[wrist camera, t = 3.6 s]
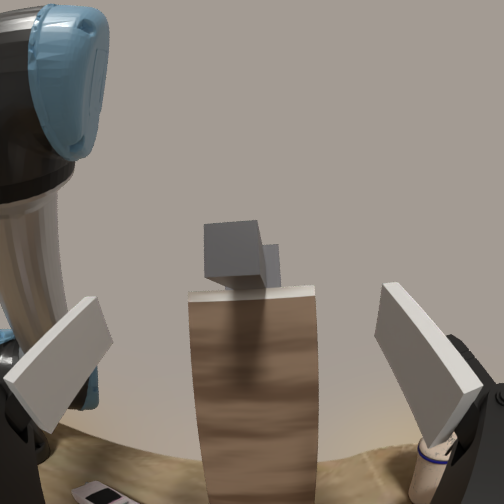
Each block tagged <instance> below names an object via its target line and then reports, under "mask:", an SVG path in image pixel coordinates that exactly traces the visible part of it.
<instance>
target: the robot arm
mask: <svg viewBox="0 0 504 504" xmlns="http://www.w3.org/2000/svg"><path fill="white" fill-rule="evenodd" d="M108 53H109V26H108V22H107V19H106V17H105V16H104V14H103V13H102V12H100V11H99V10H98V9H95V8H92V7H84V6H68V5H55V4H48V5H45V6H37V7H30V8H24V9H18V10H13V11H8V12H3V13H0V303H1V306H2V309H3V311H4V313H5V316H6V318H7V320H8V323H9V325H10V327H11V329H0V504H45V500H44V496H43V492H42V487H41V483H40V478H39V472H38V466H37V464H39V463H41V462H43V461H44V460H45V459H46V458H47V457H48V456H49V454H50V448H49V445H48V442H47V439H46V437H45V435H44V433H43V432H42V430H44V431H46V432H48V433H50V434H52V432H53V431H54V429H55V427H56V426H57V424H58V423H59V421H60V419H61V418H62V416H63V415H64V413H65V412H66V410H67V409H77V410H80V411H83V410H92V409H95V408H96V407H97V406H98V404H99V391H98V371H97V365H98V363H99V362H100V360H101V359H102V358H103V356H104V355H105V353H106V352H107V351H108V349H109V348H110V346H111V345H112V344H113V340H112V338H111V335H110V332H109V330H108V327H107V324H106V322H105V319H104V316H103V313H102V310H101V307H100V305H99V301H98V298H97V297H88V296H86V297H85V298H84V299H82V300H81V301H80V302H79V303H78V304H77V305H76V306H75V307H74V308H72V309H71V310H70V311H69V312H68V310H67V305H66V299H65V293H64V287H63V280H62V272H61V263H60V254H59V240H58V221H57V220H58V219H57V191H58V190H59V189H60V188H61V187H62V186H64V185H65V184H66V183H67V182H68V181H69V180H70V178H71V177H72V176H73V173H74V168H75V161H77V160H79V159H81V158H85V157H86V156H88V155H89V154H90V152H91V150H92V148H93V146H94V142H95V139H96V134H97V130H98V122H99V114H100V112H101V107H102V101H103V94H104V87H105V80H106V71H107V63H108ZM374 336H375V338H376V340H377V342H378V343H379V345H380V347H381V349H382V351H383V353H384V355H385V357H386V359H387V361H388V363H389V365H390V367H391V369H392V371H393V373H394V375H395V377H396V379H397V381H398V383H399V385H400V387H401V389H402V391H403V393H404V396H405V398H406V400H407V402H408V404H409V406H410V408H411V411H412V413H413V415H414V417H415V420H416V421H417V424H418V427H419V429H420V431H421V434H422V436H423V438H424V441H425V443H426V446H427V448H428V449H429V448H432V447H434V446H437V445H439V444H442V443H444V442H447V440H448V439H449V438H450V436H451V435H452V434H453V432H455V434H456V436H457V439H456V440H455V442H454V443H453V444H452V445H451V447H450V448H449V449H448V450H447V452H446V453H445V456H447V455H448V454H449V453H450V452H451V454H450V457H449V459H448V462H447V465H446V468H445V470H444V473H443V475H442V478H441V480H440V482H439V485H438V487H437V489H436V491H435V494H434V496H433V498H432V500H431V502H430V504H504V383H499V384H496V383H495V382H494V381H493V379H492V378H491V377H490V376H489V374H488V373H487V372H486V370H485V369H484V368H483V366H482V365H481V364H480V363H479V361H478V360H477V359H476V358H475V357H474V355H473V354H472V353H471V351H469V349H468V348H467V347H466V345H465V344H464V343H463V342H462V341H461V340H459V339H458V338H456V337H455V336H453V335H452V334H450V335H447V336H445V335H444V334H443V332H442V331H441V330H440V329H439V328H438V326H437V325H436V324H435V323H434V322H433V321H432V319H430V317H429V316H428V315H427V314H426V313H425V311H424V310H423V309H422V308H421V307H420V306H419V305H418V304H417V302H416V301H415V300H414V299H413V298H412V297H411V296H410V295H409V294H408V293H407V292H406V291H405V289H403V287H402V286H401V285H400V284H399V283H398V282H393V283H384V284H382V290H381V298H380V305H379V311H378V318H377V324H376V330H375V335H374ZM41 429H42V430H41Z"/></svg>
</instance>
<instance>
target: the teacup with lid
mask: <svg viewBox="0 0 504 504" xmlns="http://www.w3.org/2000/svg"><path fill="white" fill-rule="evenodd" d="M456 439H457V436H456V434H455V432H453V434H452V435H451V436H450V438H449V439H448V440H447V442H444V443H442V444H439V445H437V446H434V447H432V448H429V449H428V448H427V446H426V443H425V441H424V438H421V439H420V441H419V443H418V448H417V453H418V457H417V462H416V466H415V470H414V474H413V478H412V481H411V485H410V488H409V498H410V500H411V501H412V502H413V503H414V504H430V502H431V500H432V498H433V496H434V494H435V491H436V489H437V487H438V485H439V482H440V480H441V478H442V475H443V473H444V470H445V468H446V465H447V462H448V459H449V457H450V454H451V452H450V453H449V454H448V455H447V456H445V453H446V452H447V450H448V449H449V448H450V447H451V445H452V444H453V443H454V442H455V440H456Z"/></svg>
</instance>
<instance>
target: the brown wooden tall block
mask: <svg viewBox="0 0 504 504" xmlns="http://www.w3.org/2000/svg"><path fill="white" fill-rule="evenodd" d="M188 307H189V308H188V309H189V331H190V349H191V364H192V377H193V388H194V399H195V408H196V417H197V426H198V434H199V441H200V449H201V456H202V462H203V469H204V475H205V481H206V486H207V492H208V497H209V503H210V504H314V501H315V488H316V473H317V453H318V415H319V414H318V411H319V403H318V402H319V396H318V395H319V393H318V392H319V389H318V388H319V384H318V342H317V320H316V301H315V287H314V285H307V286H295V287H294V286H293V287H278V288H262V289H243V290H223V291H222V290H221V291H195V292H188Z"/></svg>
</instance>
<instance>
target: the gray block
mask: <svg viewBox="0 0 504 504" xmlns="http://www.w3.org/2000/svg"><path fill="white" fill-rule="evenodd" d="M204 271H205V278H207V279H210V280H212V281H214V282H216V283H219V284H221V285H224V286H225V290H243V289H262V288H278V287H281V277H280V262H279V247H278V244H273V245H262V242H261V237H260V232H259V227H258V222H257V220H252V221H238V222H225V223H213V224H204Z"/></svg>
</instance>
